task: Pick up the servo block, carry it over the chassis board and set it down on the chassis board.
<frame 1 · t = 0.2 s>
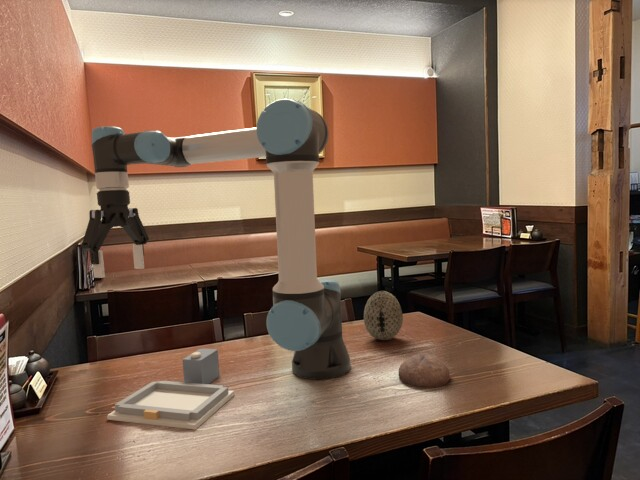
hand: (120, 273, 117), 27 cm above the table, fingers open, 13 cm apart
decorative egg: (384, 340, 138), on the table
chassis board: (173, 406, 99), on the table
brown dome: (423, 379, 107), on the table
servo block: (202, 381, 113), on the table
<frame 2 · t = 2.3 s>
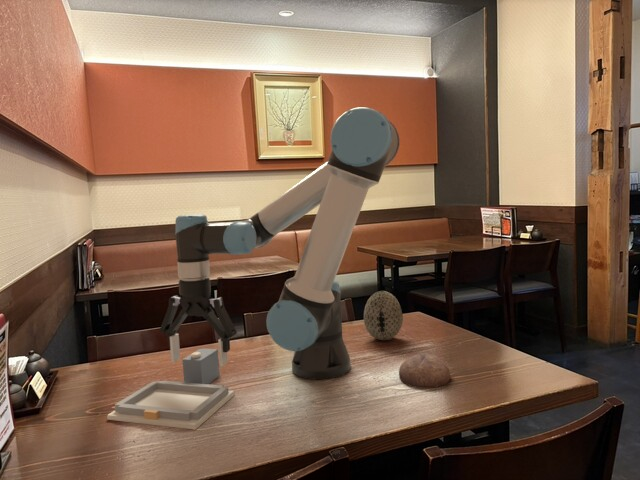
hand: (199, 362, 112), 5 cm above the table, fingers open, 13 cm apart
nothing on the table moved.
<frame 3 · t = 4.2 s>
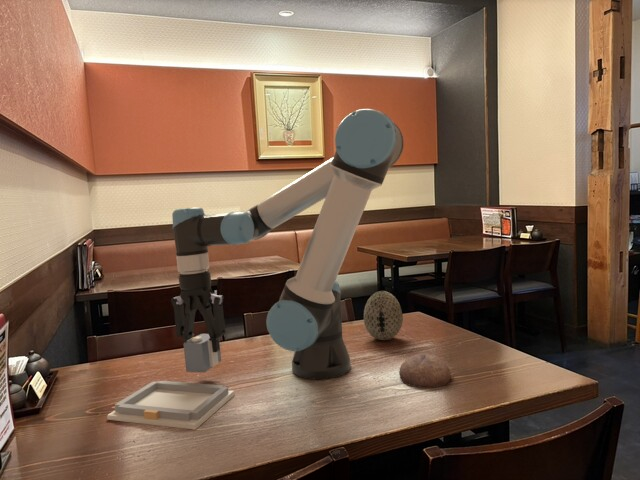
hand: (204, 364, 112), 4 cm above the table, fingers closed on servo block, 5 cm apart
servo block: (204, 366, 112), point 4 cm above the table, touching gripper
everything else where it was.
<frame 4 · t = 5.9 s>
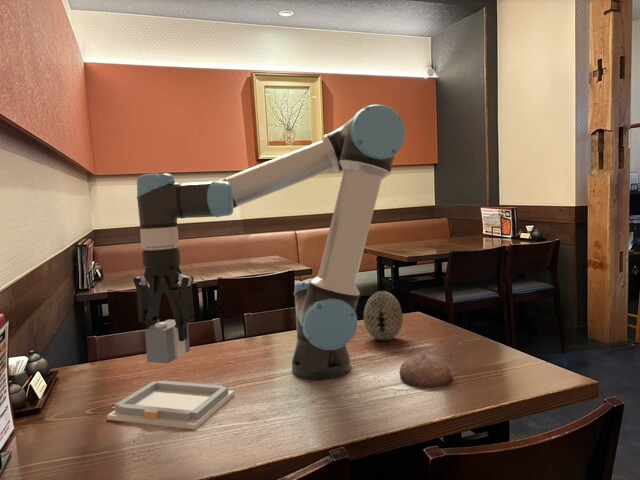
hand: (169, 354, 98), 12 cm above the table, fingers closed on servo block, 5 cm apart
servo block: (169, 356, 98), point 11 cm above the table, touching gripper
everything else where it was.
when the fingers open (2 cm above the table, at t = 7.8 s): servo block stays where it is, resting on chassis board.
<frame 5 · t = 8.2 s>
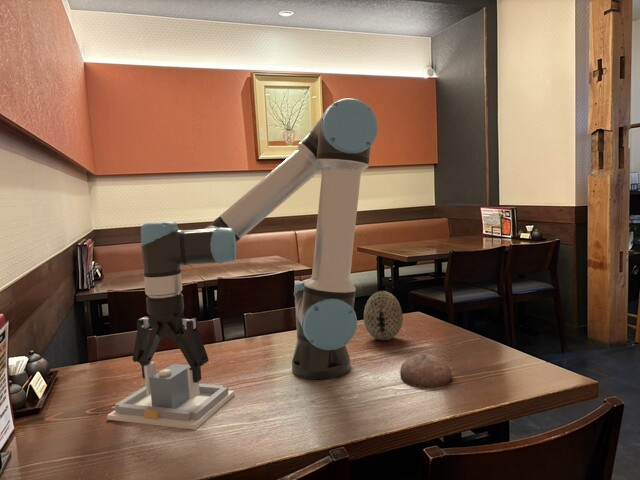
hand: (172, 394, 99), 3 cm above the table, fingers open, 10 cm apart
servo block: (173, 402, 99), point 1 cm above the table, touching chassis board
everything else where it was.
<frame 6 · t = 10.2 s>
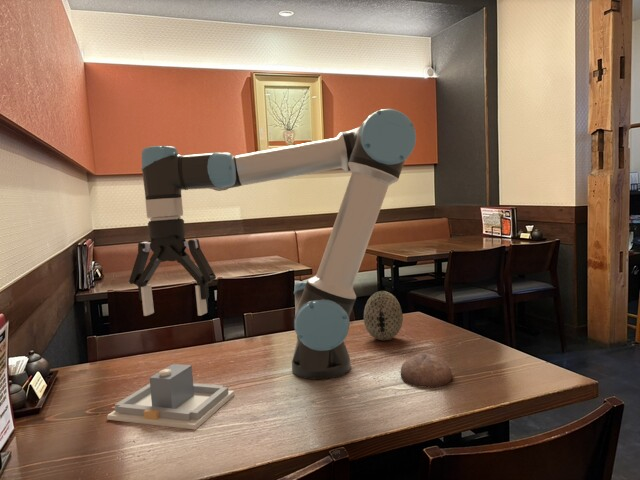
hand: (175, 314, 101), 20 cm above the table, fingers open, 13 cm apart
nothing on the table moved.
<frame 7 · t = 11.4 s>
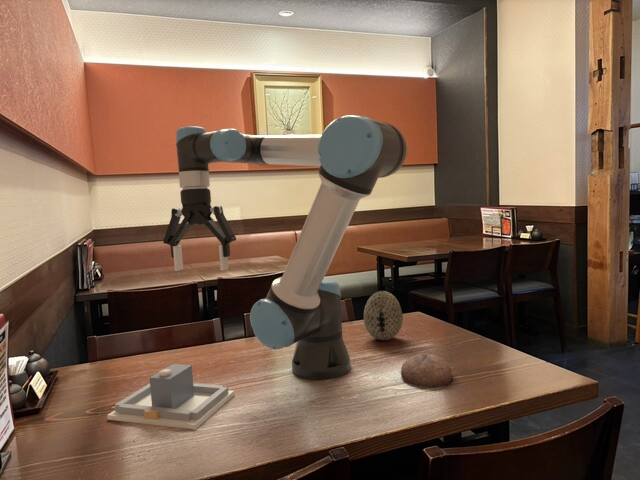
hand: (201, 269, 119), 27 cm above the table, fingers open, 13 cm apart
nothing on the table moved.
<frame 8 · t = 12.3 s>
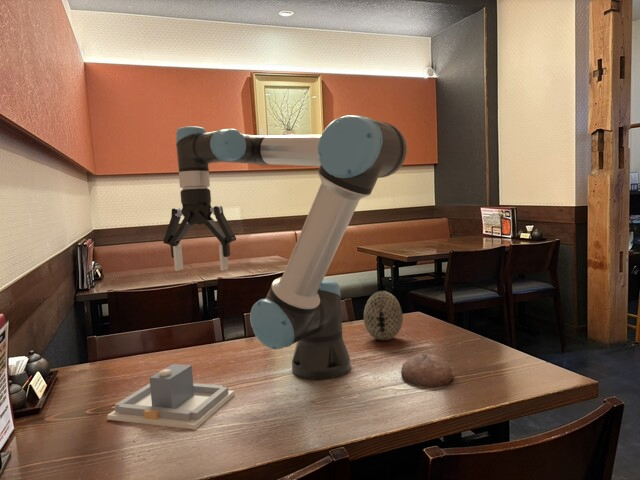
hand: (201, 269, 119), 27 cm above the table, fingers open, 13 cm apart
nothing on the table moved.
at the end: servo block inside the target area on the chassis board (0.1 cm from its centre), point 1.0 cm above the chassis board's base; servo block tilted 0°; the gripper is holding nothing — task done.
